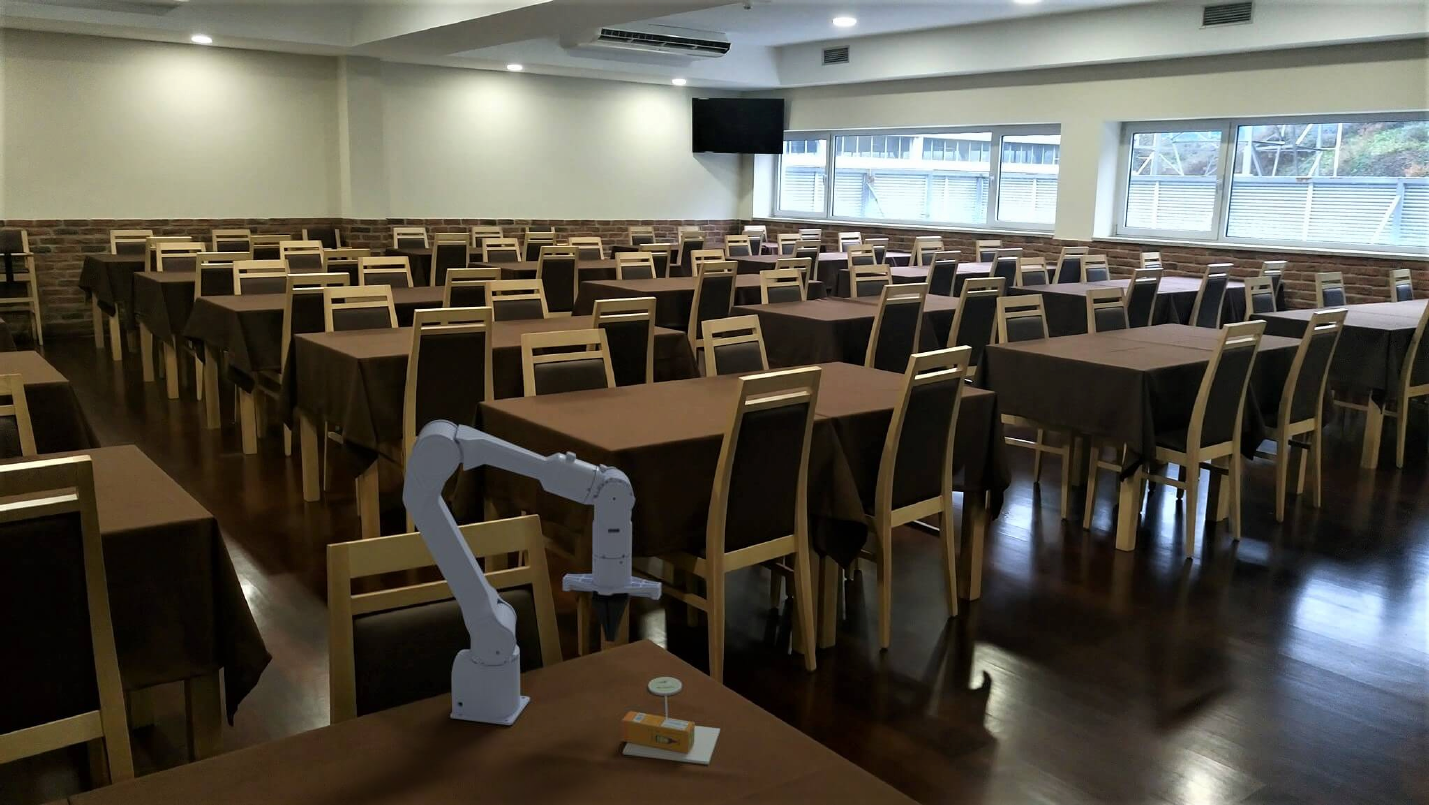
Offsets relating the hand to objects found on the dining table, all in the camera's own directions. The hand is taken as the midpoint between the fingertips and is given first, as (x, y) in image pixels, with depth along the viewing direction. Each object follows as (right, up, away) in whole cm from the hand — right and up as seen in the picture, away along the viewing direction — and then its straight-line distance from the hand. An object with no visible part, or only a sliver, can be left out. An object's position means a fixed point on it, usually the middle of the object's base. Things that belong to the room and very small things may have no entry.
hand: (611, 638), depth 155 cm
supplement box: (+3, -10, -8) cm, 13 cm away
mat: (+9, -13, -9) cm, 18 cm away
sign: (+8, -11, +3) cm, 14 cm away
